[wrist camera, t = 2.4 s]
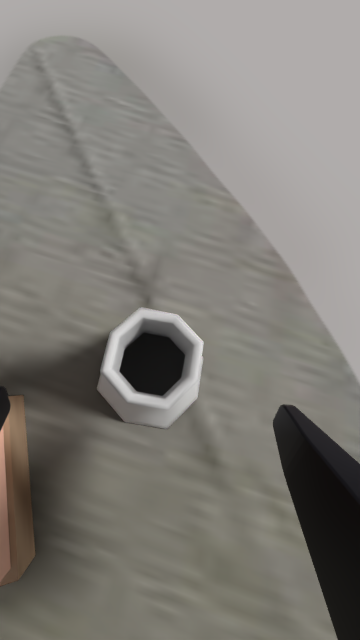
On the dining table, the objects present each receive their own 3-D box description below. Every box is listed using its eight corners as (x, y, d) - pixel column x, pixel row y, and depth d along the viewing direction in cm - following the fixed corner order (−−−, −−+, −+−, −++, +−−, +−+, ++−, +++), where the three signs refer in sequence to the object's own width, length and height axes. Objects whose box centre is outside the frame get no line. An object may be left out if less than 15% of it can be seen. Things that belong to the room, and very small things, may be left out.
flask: (78, 394, 16) (-26, 407, 7) (134, 306, 18) (116, 219, 9) (172, 448, 16) (203, 539, 7) (218, 353, 18) (294, 316, 9)
